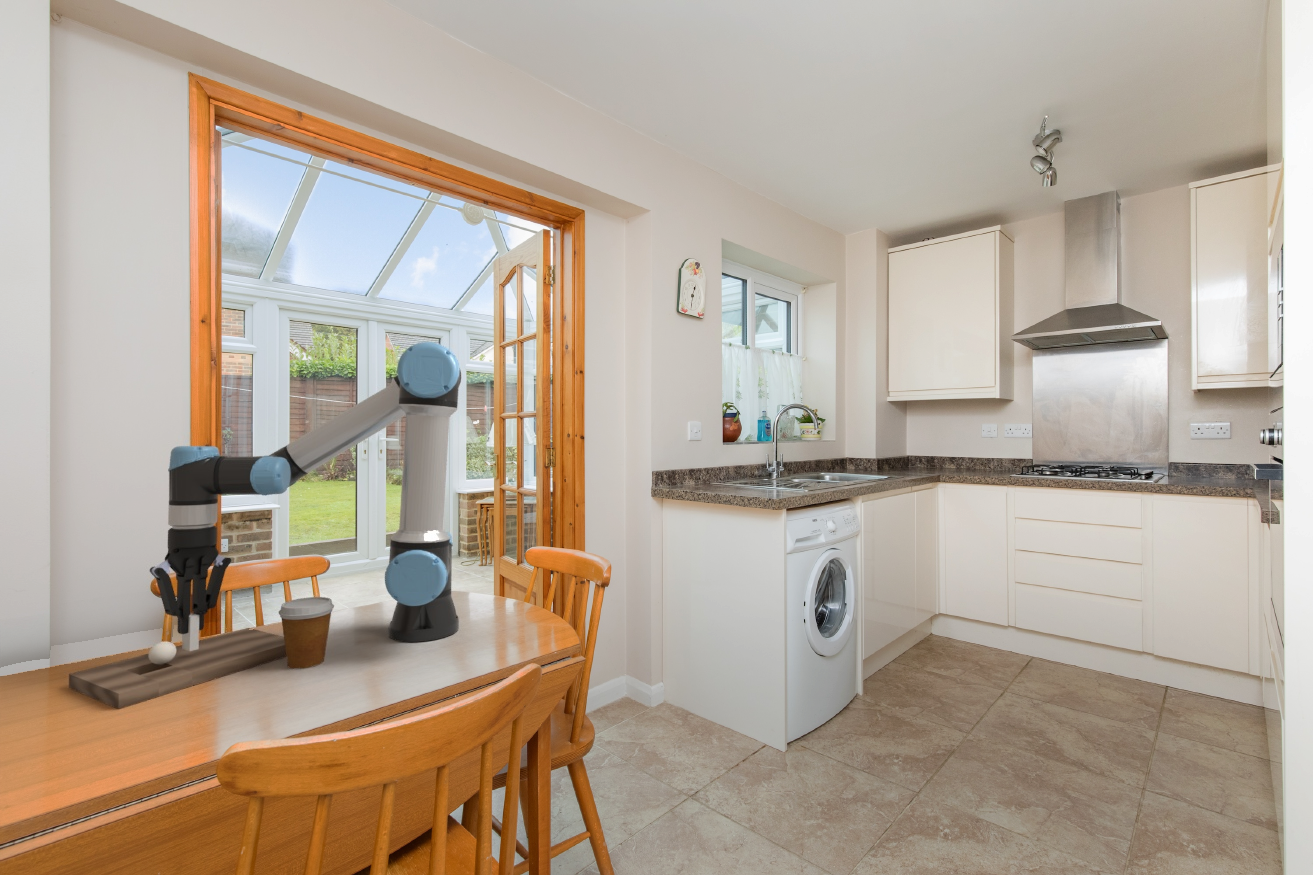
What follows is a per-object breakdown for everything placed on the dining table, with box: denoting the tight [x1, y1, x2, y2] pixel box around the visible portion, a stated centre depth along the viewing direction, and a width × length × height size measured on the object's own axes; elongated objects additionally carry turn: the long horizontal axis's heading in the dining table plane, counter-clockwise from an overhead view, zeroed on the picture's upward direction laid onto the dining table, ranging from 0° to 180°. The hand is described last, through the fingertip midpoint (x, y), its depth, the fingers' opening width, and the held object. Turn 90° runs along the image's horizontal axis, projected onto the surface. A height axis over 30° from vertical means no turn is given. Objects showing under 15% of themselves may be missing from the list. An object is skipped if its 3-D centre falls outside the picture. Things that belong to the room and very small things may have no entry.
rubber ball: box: [148, 641, 176, 664], centre depth 111 cm, size 4×4×4 cm
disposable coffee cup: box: [278, 596, 335, 669], centre depth 119 cm, size 10×10×12 cm
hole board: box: [68, 627, 287, 710], centre depth 115 cm, size 18×30×2 cm, turn 153°
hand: (190, 648), depth 115 cm, fingers closed
